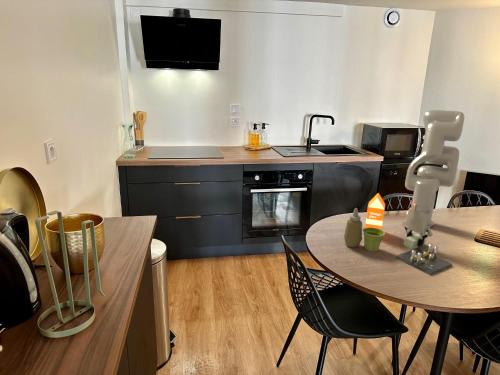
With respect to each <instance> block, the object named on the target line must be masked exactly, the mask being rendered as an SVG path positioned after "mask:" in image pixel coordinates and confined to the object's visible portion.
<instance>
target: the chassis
mask: <svg viewBox="0 0 500 375" xmlns="http://www.w3.org/2000/svg"><path fill="white" fill-rule="evenodd" d="M433 246H434V244H432V243H429V244H428V250H427V251H425V250H424V249H421V248H420V247H417V248H414V249H411V250H408V251H405V252H403V253H400V254H397V255H395V258H396V259H397V260H399V261H400V262H401V261H402V262H403V263H405V264H407V265H409V266H411V267H413V268H415V269H417V270H419V271H421V272H423V273H425V274H427V275H429V276H432V275H433V274H436V273H438V272H441V271H443V270H445V269H447V268H450V267H452V266H453V263H452V262H450V261H447V260H445V259H443V258H441V257H439V256H438V253H439V246H434V248H433ZM433 249H434V250H433ZM432 251H433V253H432Z"/></svg>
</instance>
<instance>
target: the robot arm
mask: <svg viewBox="0 0 500 375" xmlns="http://www.w3.org/2000/svg"><path fill="white" fill-rule="evenodd" d="M464 122H465V115H464V112H462V111H458V110H457V111H455V110H443V109H442V110H440V109H436V110H435V109H432V110H427V111H425V112H424V114H423V126H424V130H425V131H424V132H425V133H424V137H423V144H422V149H421V153H420V154H419V155H418V156H417V157H415V158H414V159H413V160H412V161H411V162H410V163H409V165H408V168H407V172H406V177H405V181H404V182H405V183H404V186H405V188H406V189H407V190H409V191H412V192H413V195H412V201H410V202H409V204H410V205H411V206H410V207H409V208H408V210H407V211H406V213H405V215H406V217H405V221H403V222H402V223H401V224H402V226H403V227H404V230H405V233H406V237H409V236H412V235H414V234H413V232H415V233H416V234H419V235H420V238H419V239H418V245H417V246H418V247H417V248H420V247H423V246H424V245H423V244H424V239H425V238H426V239H427V238H429V237H432V236H433V232H432V230H431V227H433V226H434V225H435V222H434V221H433V220H432V218H433V212H434V207H435V201H436V197H437V196H436V195H437V191H439V189H440V187H444V188H451V187H453V186H454V184H455V181H456V178H457V177H456V176H457V171H458V166H459V160H460V150H459V149H458V148H457V147H456V146H448V145H445V142H457V141H459V140H460V138H461V136H462V133H463V128H464ZM423 163H427V164H432V165H422V166H420V167H419V168H418V169H417V174H414V173H415V170H416V168H417V167H418V166H419V165H420V164H423ZM433 164H434V165H441V166H446V167H440V166H434V165H433Z"/></svg>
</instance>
